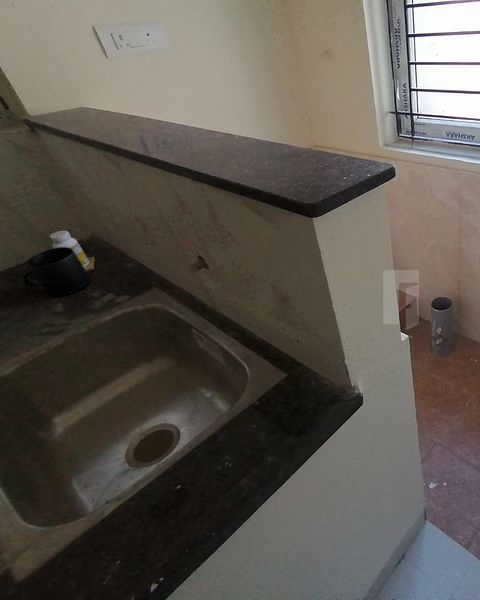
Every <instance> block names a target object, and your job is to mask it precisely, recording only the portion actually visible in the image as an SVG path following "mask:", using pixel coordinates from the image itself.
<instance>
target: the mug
mask: <svg viewBox="0 0 480 600" xmlns="http://www.w3.org/2000/svg"><path fill="white" fill-rule="evenodd" d="M26 266H27V268H28V269H29V270H27V271H25V272H24V273H23V274H22V277H21V279H22V282H23V283H24V284H26V286H28V287H34V288H38V287H39V288H43V290H44V291H45V293H46V294H47V295H48V296H50V297H54V298H61V297H67V296H70V295H71V296H72V295H74V294H76V293H79V292H80V291H82V290H84V289H86V288H87V287H88V286H89V285H90V284H91V277H90V275H89V273H88V271H86V270H85V269H84V267H83V265H82V264H81V262H80V261H79V259H78V257H77V256H76V254H75V252H74V251H73V250H72V249H71V248H67V247H60V248H53V247H52V248H50V249H46V250H43V251H40V252H38V253H35V254H34V255H33V256H31V257H30V258H28V259H27V261H26ZM31 274H33V276H34V277H35V278H36V280H37V282H32V281H29V279H28V276H29V275H31Z"/></svg>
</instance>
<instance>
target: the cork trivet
mask: <svg viewBox="0 0 480 600" xmlns="http://www.w3.org/2000/svg"><path fill="white" fill-rule="evenodd" d="M87 259H88V260H89V263H88V265H86V266H85V267H84V269H85V270H86V272H88V271H89V272H90V271H92V270H95V269H94V268H95V267H94V266H95V256H90V257H87Z"/></svg>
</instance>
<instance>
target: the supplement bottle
mask: <svg viewBox="0 0 480 600" xmlns="http://www.w3.org/2000/svg"><path fill="white" fill-rule="evenodd" d="M49 238H50V240H51V241H52V249H53V248H60V247H67V248H71V249H72V250H73V251H74V252H75V254H76V256H77V257H78V259H79V261H80V262H81V264H82V265H83V267H85V266H86V265H88V263H89V260H88V259H87V258H88V257H87V255H86V254H85V252H84V250H83V249H82V247H81V245H80V244H79V242H78V240H77V239H75V238H74V237H71V234H70V233H69V231H67V230H59V231H56V232H52V233H51V234H50V235H49Z"/></svg>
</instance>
